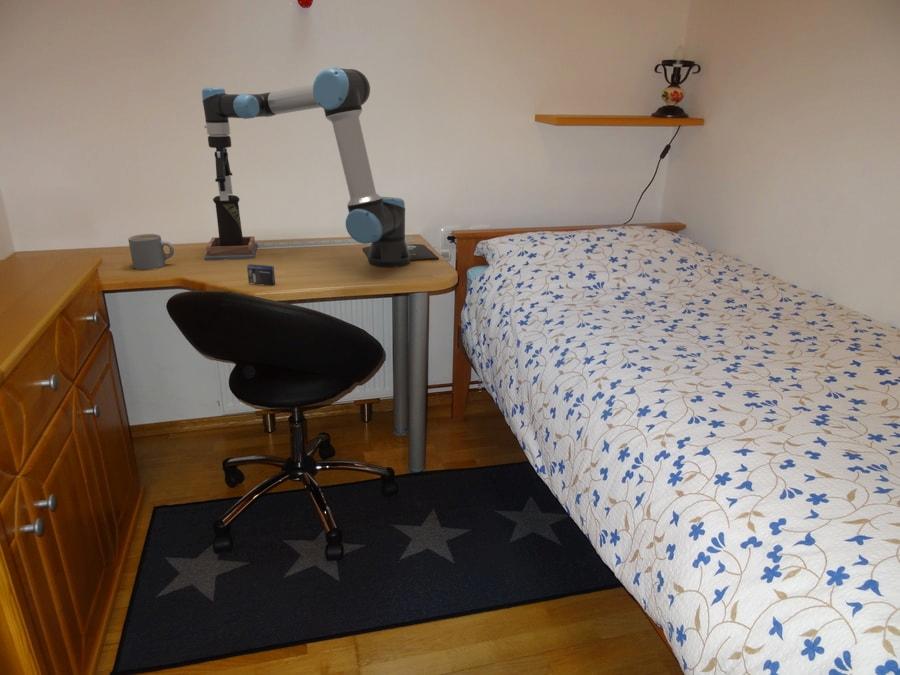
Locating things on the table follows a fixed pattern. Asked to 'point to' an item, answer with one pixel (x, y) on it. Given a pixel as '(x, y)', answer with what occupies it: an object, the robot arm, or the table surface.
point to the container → (229, 221)
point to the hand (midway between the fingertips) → (226, 197)
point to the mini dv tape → (261, 274)
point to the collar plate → (231, 250)
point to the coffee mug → (148, 251)
